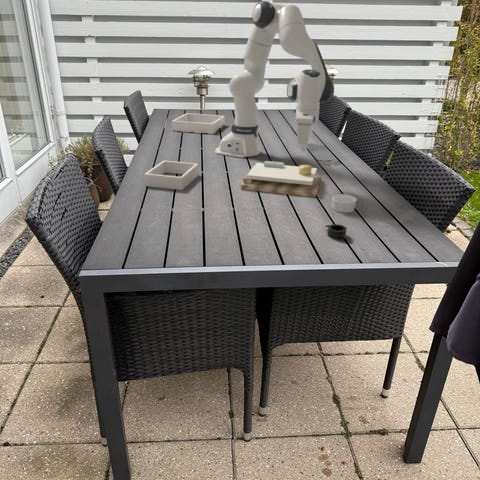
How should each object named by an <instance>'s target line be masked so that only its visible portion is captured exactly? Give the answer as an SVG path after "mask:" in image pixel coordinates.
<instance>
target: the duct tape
mask: <svg viewBox="0 0 480 480" xmlns="http://www.w3.org/2000/svg"><path fill="white" fill-rule="evenodd" d="M323 228H324V229H327V237H328V238H330V239H332V240H344V239H345V240H351V238H350V237H348V236H347V229H348V228H347V227H346V226H344V225H342V224H337V223H335V224H334V223H333V224H330V225H329V224H327V225H324V226H323Z"/></svg>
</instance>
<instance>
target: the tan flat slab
mask: <svg viewBox="0 0 480 480" xmlns="http://www.w3.org/2000/svg"><path fill="white" fill-rule="evenodd" d="M254 166H255V165H253V166H252V167H251V168H250V170H249V171H248V172H247V173H246V174H245V176H244V177H243V181H242V182H241V184H240V190H245V191H253V192H264V193H272V194H280V193H281V194H282V195H290V194H292V195H291V196H299V195H300V196H301V197H308V196H310V197H311V198H316V197H317V194H318V191H319V188H320V185H319V184H321V181H322V175H321V174H320V175H319V174H316V175H315V178H314V181H313V184H312V185H305V184H295V183H285V182H275V181H265V180H255V179H247V175H248V173H249V172H250V171H251V170H252V168H253V167H254ZM281 194H280V195H281Z"/></svg>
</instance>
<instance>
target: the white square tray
mask: <svg viewBox="0 0 480 480" xmlns="http://www.w3.org/2000/svg"><path fill="white" fill-rule="evenodd" d="M225 117H226V116H225V115H218V114H205V113H204V114H201V113H191V112H190V113H188V112H187V113H184V114H183V115H181V116H179V117H177V118H174V119H173V120H172V121H171V125H172V126H171V128H172V129H171V130H175V131H174V132H177V131H181V133H189V132H194V133H193V134H201V133H208V134H207V135H214V134H216V133H217V132H218V131H219V130H220V129H219V128H221V127H222V126H223V125H224V124H225V122H226V118H225ZM223 127H224V126H223ZM223 127H222V128H223ZM222 128H221V129H222ZM218 129H219V130H218ZM217 130H218V131H217ZM216 131H217V132H216ZM213 133H214V134H213Z"/></svg>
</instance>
